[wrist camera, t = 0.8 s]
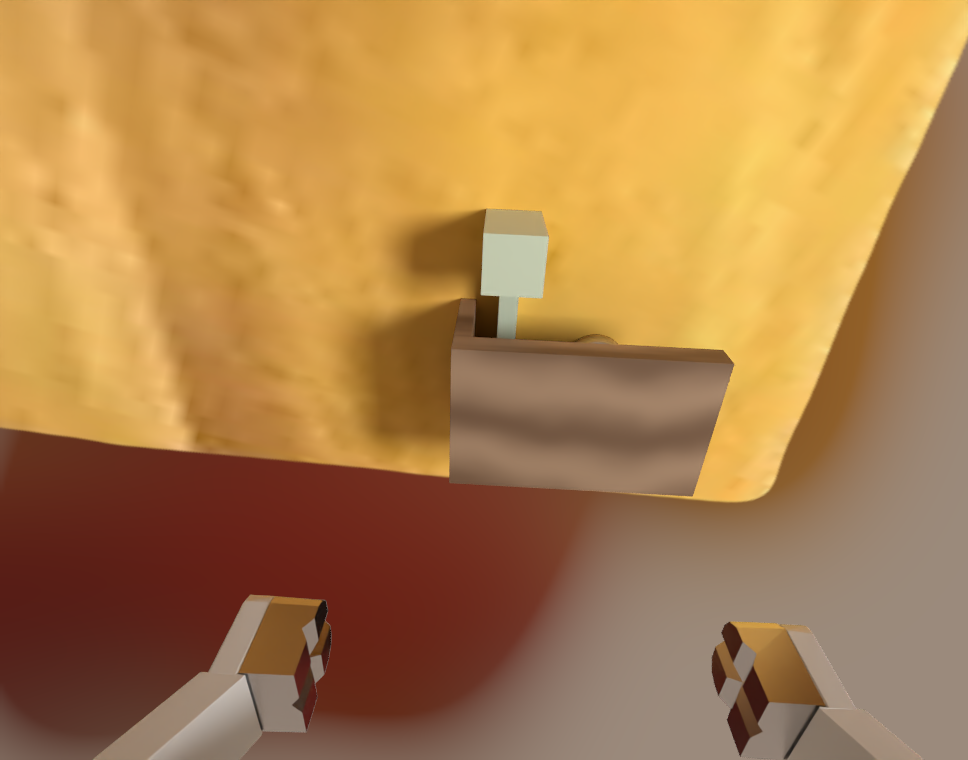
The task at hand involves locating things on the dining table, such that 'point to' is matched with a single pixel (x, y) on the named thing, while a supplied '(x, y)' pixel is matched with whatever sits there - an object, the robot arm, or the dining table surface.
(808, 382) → the dining table surface
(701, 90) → the dining table surface
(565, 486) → the walnut shelf
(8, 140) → the dining table surface
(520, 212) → the sage paddle
